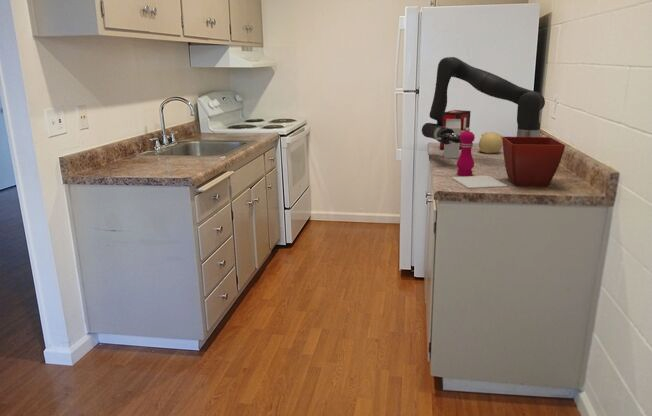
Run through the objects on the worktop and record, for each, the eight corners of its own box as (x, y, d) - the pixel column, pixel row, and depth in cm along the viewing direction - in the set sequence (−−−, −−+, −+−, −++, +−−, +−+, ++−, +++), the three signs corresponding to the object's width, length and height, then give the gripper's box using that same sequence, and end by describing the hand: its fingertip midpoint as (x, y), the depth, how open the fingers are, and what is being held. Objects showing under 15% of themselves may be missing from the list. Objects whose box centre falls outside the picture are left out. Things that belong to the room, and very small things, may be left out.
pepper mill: (470, 177, 210) (474, 129, 204) (453, 175, 214) (456, 128, 208) (475, 173, 216) (479, 127, 210) (458, 172, 219) (462, 126, 214)
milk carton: (458, 158, 249) (461, 119, 244) (443, 158, 251) (446, 119, 245) (458, 155, 256) (460, 118, 250) (443, 155, 257) (445, 118, 252)
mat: (450, 178, 209) (450, 177, 209) (487, 176, 211) (487, 175, 211) (468, 188, 192) (468, 187, 192) (507, 186, 194) (508, 185, 194)
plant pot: (560, 189, 190) (566, 144, 185) (508, 187, 192) (512, 144, 188) (546, 177, 208) (550, 136, 203) (498, 176, 211) (501, 136, 206)
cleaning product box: (453, 145, 286) (455, 110, 280) (468, 147, 281) (470, 110, 275) (439, 149, 274) (441, 112, 268) (455, 151, 268) (457, 113, 263)
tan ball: (503, 151, 266) (505, 131, 263) (497, 155, 256) (499, 134, 253) (482, 150, 272) (483, 130, 269) (475, 153, 262) (477, 132, 259)
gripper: (430, 127, 235) (443, 132, 218) (458, 126, 236) (473, 131, 220) (430, 143, 237) (443, 149, 220) (457, 142, 239) (471, 148, 222)
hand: (458, 140), depth 220 cm, fingers closed
